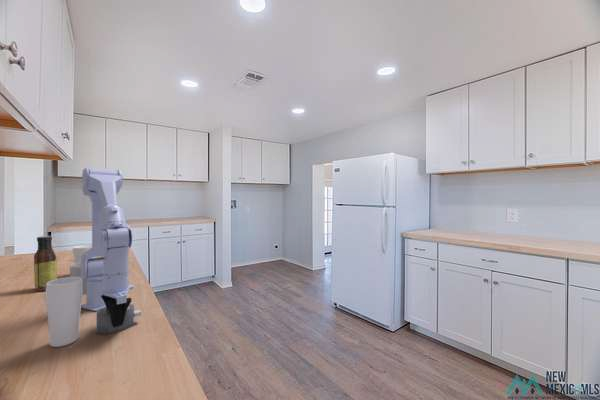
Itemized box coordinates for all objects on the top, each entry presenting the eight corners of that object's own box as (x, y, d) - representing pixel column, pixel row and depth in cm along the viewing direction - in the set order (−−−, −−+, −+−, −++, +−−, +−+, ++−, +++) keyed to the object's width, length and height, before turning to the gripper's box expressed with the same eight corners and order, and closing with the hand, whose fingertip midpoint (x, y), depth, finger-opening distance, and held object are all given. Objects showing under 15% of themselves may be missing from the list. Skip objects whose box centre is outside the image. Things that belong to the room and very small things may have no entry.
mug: (65, 292, 99) (65, 264, 99) (94, 284, 108) (94, 259, 108) (80, 297, 94) (80, 268, 94) (109, 289, 103) (110, 263, 103)
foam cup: (81, 272, 124) (81, 244, 123) (103, 272, 125) (103, 244, 125) (67, 279, 114) (67, 248, 114) (92, 278, 116) (92, 247, 116)
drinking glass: (44, 341, 66) (45, 280, 66) (80, 332, 70) (80, 274, 70) (45, 353, 61) (46, 287, 61) (84, 342, 66) (84, 280, 66)
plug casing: (138, 318, 79) (138, 301, 79) (142, 323, 76) (142, 306, 75) (95, 330, 72) (95, 311, 72) (97, 336, 69) (97, 316, 69)
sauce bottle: (61, 286, 105) (61, 235, 105) (47, 291, 99) (47, 237, 99) (44, 286, 105) (44, 235, 105) (28, 291, 99) (28, 237, 99)
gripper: (140, 275, 70) (139, 327, 71) (127, 264, 81) (126, 310, 81) (107, 281, 66) (106, 336, 66) (97, 269, 76) (97, 317, 76)
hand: (115, 322), depth 73 cm, fingers closed on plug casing, 4 cm apart
